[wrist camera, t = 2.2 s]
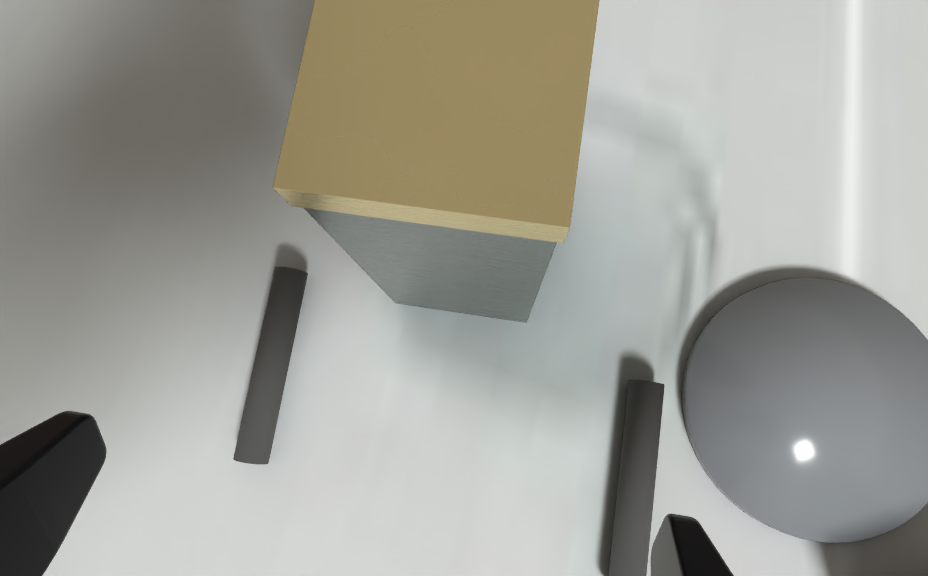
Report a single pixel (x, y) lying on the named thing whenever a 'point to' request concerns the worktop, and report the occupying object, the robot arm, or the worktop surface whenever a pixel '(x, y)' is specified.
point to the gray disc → (812, 409)
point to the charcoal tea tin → (442, 142)
